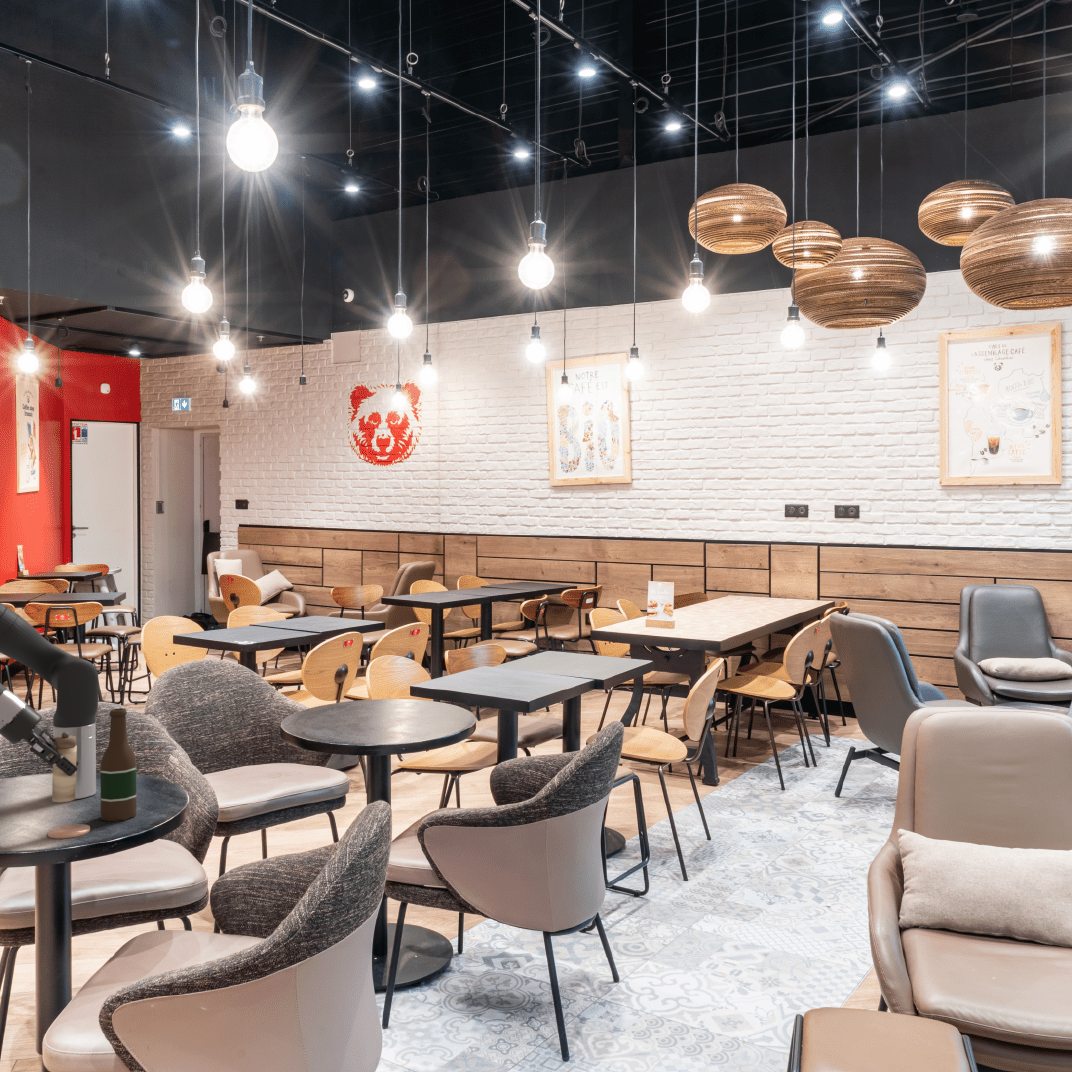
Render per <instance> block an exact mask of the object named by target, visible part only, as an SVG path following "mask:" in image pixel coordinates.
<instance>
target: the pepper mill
mask: <svg viewBox="0 0 1072 1072" xmlns="http://www.w3.org/2000/svg"><path fill="white" fill-rule="evenodd" d="M55 744H56V745H57V746H58V751H59V752H60V753H61V754H63V755H64V757H66V758H67V759H68V760H69V761H70V762H72V763H73V764H74V765H75V766H76V751H77V746H76V737H75V736H69V733H68V732H63V733H62V736H59V737H56V738H55ZM53 756H54V754H53ZM51 785H52V789H51V790H52V792H51V801H52V802H55V803H67V802H71V801H74V800H76V799H75V793H76V772H75V773H74V774H73V775H72V776H68V775H67V774H66V773H64V772H63V771H62V770H61V769H60V768H58V767H57V766H56V765H55V766H54V765H52V784H51Z"/></svg>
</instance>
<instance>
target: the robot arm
mask: <svg viewBox="0 0 1072 1072" xmlns="http://www.w3.org/2000/svg"><path fill="white" fill-rule="evenodd" d="M0 654H3V655H4V656H6V657H8V658H11V659H12V660H14V661H16V662H18V663H21V664H23V665H24V666H26V667H27V668H29V669H30V670H31V671H33V672H34V673H36V674H37V675H38V676H40V677H41V679H43V680H44V681H46V682H47V684H49V686H51V687H52V688H53V689H54V690H56V710H55V711H54V714H53V717H52V722H53V723H52V724H53V725H52V726H53V728H52V730H53V732H52V733H53V734H52V733H50V731H49V730H48V729H47V728H43V729H41V728H40V727H38V726H37V725H38V724H39V723H40V722H41V721H42V719H43V716H42V715H41V714H40V713H39V712H37V710H35V709H34V708H33V707H32V706H30V705H29V704H28V703H27V702H26V701H24V699H22V698H21V697H20V696H19V695H17V694H16V693H15V692H12V691H11V690H10V689H9V688H7V687H6V686H5V685H4V684H3V683H1V682H0V735H1V737H3V738H4V739H6V740H7V741H8V742H9V743H10V744H12V745H16V744H17V743H19V742H20V741H22V740H24V741H25V742H26V743H27V744H28V745H27V747H28V748H29V751H30V752H31V753H32V754H34V755H36V756H37V757H39V758H40V759H42V760H43V761H44V762H46V763H47V764H48V765H49V766H52V767H53V765H54V766H55V765H56V766H57V767H58V768H60V769H61V770H62V771H63V772H64V773H66V774H67V775H68V776H72V775H73V774H74V773H75V772H76V793H75V799H74V800H78V799H84V798H88V797H91V796H93V795H95V794H96V793H97V757H96V756H97V755H96V754H97V752H96V751H97V748H96V745H97V744H96V739H97V738H96V737H97V736H96V735H97V733H96V731H97V730H96V727H97V725H96V718H97V717H96V716H97V712H98V709H99V674H98V669H97V668H96V666H95V665H94V664H93V663H92V662H91V661H88V660H87V659H84V658H81V657H79V656H78V657H77V656H75V655H74V654H71V653H69V652H67V651H65V650H64V649H61V648H60V647H58V646H56V645H55V644H52V643H51V642H50V641H48V640H47V639H46V638H45V637H43V635H42V634H41V633H40V632H39V631H38V630H37V629H36V628H35V627H34V626H33V625H32V624H30V622H29V621H28V620H26V619H25V618H24V617H22V616H21V615H20V614H18V613H17V612H15V611H13V610H12V609H11V608H9V607H8V606H7V605H5V604H4V603H2V602H0ZM63 732H68V733H69V736H75V737H76V746H77V751H76V766H75V765H74V764H73V763H72V762H70V761H69V760H68V759H67V758H66V757H64V755H63V754H61V753H60V752H59V751H58V746H57V745H56V744H55V738H56V737H59V736H62V733H63ZM53 754H54V756H53Z"/></svg>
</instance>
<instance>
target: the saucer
mask: <svg viewBox="0 0 1072 1072" xmlns="http://www.w3.org/2000/svg"><path fill="white" fill-rule="evenodd" d="M90 831H91V826H90V825H89V824H84V823H72V824H66V825H60V826H56V827H54V828H52V829H49V830H48V832H47V837H48V838H51V839H57V840H58V839H60V840H62V839H70V838H71V839H73V838H76V837H81V836H84V835H86V834H88V833H90Z"/></svg>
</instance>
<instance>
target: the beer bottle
mask: <svg viewBox="0 0 1072 1072" xmlns="http://www.w3.org/2000/svg"><path fill="white" fill-rule="evenodd" d="M127 713H128V712H127V709H126V708H121V707H120V708H112V709H110V711H109V716H110V726H109V728H110V730H109V741H108V746H107V747H106V749H105V751H104V752H103V755H102V757H101V761H100V773H99V774H100V815H101V816H100V819H101V821H103V820H105V822H110V821H114V822H120V821H119V820H123V821H127V820H129V819H128V818H130V817H133V818H135V817H136V815H137V806H138V805H137V798H138V797H137V759H136V758H137V757H136V755H135V751H134V750H133V748H132V747H131V746H130V744H129V741H128V732H127V731H128V730H127V720H126V719H127V718H126V715H127ZM134 816H135V817H134ZM126 819H127V820H126ZM130 819H131V818H130Z"/></svg>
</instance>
